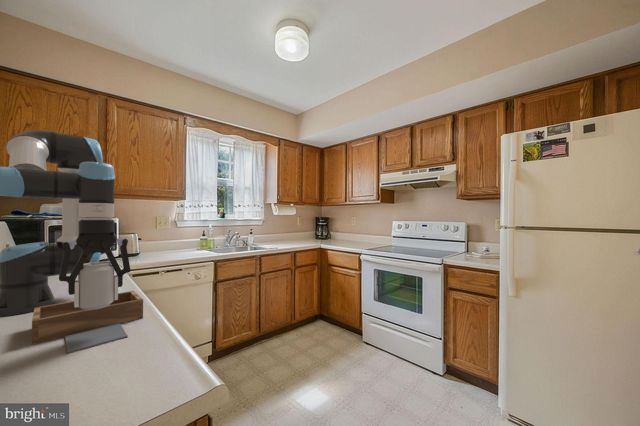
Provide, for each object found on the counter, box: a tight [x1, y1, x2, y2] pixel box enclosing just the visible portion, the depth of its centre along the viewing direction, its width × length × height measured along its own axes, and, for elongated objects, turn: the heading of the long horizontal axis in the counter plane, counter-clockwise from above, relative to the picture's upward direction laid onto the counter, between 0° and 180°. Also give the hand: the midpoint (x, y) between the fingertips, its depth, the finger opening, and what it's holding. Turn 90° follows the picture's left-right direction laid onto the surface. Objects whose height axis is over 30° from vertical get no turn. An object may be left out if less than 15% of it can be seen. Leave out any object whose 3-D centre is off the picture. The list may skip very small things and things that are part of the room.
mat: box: [64, 323, 129, 355], centre depth 72 cm, size 12×12×1 cm
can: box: [77, 261, 115, 310], centre depth 72 cm, size 8×8×12 cm
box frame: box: [31, 290, 144, 345], centre depth 82 cm, size 14×24×6 cm, turn 136°
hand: (96, 302), depth 72 cm, fingers closed on can, 7 cm apart
